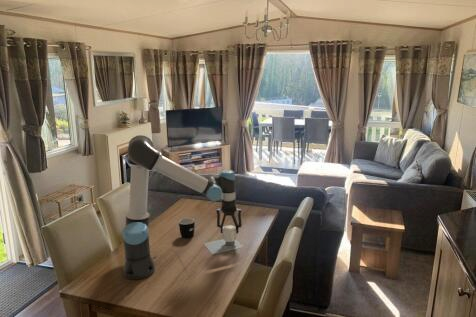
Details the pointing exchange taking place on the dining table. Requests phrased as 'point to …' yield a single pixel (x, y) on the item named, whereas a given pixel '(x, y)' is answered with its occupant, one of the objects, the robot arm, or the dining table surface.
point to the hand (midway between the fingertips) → (229, 238)
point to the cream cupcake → (229, 233)
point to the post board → (222, 246)
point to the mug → (187, 227)
